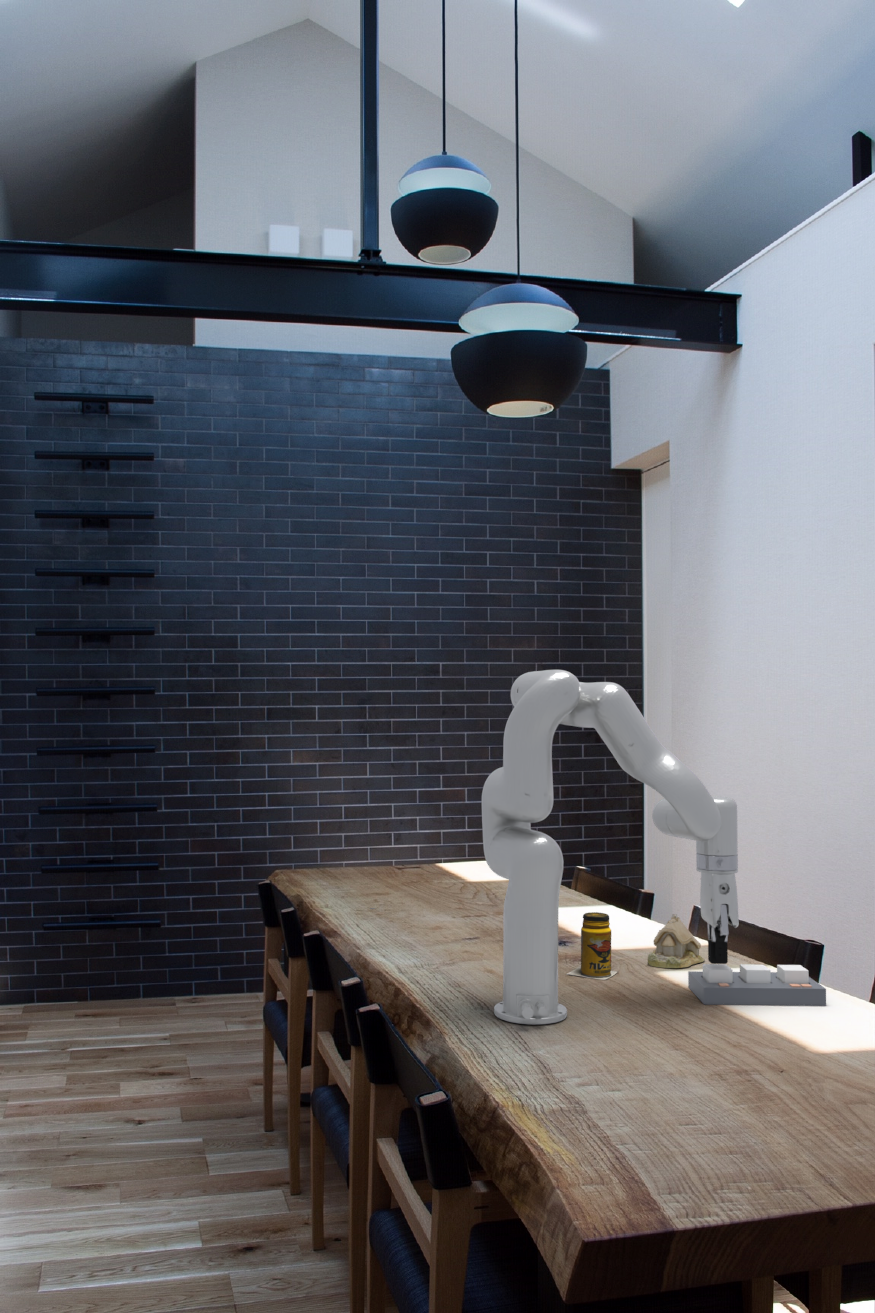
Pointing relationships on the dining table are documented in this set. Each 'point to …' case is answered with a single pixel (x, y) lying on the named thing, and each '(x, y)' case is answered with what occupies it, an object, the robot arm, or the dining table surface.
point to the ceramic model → (675, 946)
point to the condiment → (595, 947)
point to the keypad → (756, 992)
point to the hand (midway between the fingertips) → (717, 962)
